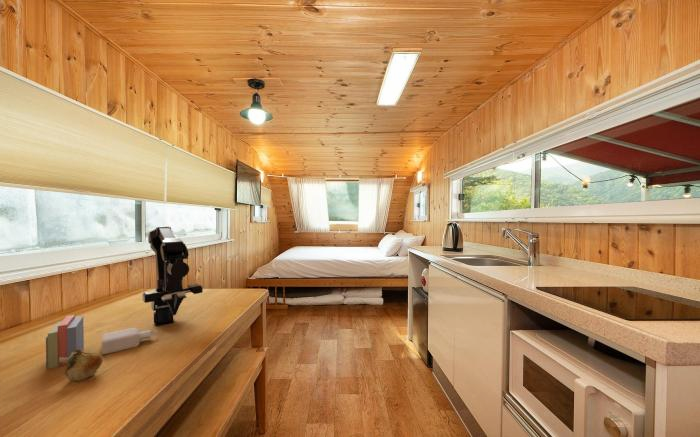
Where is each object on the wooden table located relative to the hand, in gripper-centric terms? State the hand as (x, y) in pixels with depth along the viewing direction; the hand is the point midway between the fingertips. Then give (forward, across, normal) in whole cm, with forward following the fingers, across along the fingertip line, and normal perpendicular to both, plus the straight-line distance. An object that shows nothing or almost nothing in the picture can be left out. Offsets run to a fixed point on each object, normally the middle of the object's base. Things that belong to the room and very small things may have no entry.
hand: (174, 315), depth 106 cm
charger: (+8, +13, -2) cm, 15 cm away
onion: (+8, +25, +16) cm, 30 cm away
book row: (+7, +29, -4) cm, 30 cm away
